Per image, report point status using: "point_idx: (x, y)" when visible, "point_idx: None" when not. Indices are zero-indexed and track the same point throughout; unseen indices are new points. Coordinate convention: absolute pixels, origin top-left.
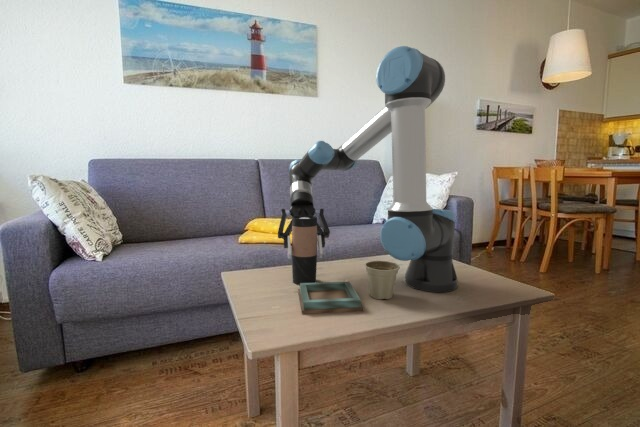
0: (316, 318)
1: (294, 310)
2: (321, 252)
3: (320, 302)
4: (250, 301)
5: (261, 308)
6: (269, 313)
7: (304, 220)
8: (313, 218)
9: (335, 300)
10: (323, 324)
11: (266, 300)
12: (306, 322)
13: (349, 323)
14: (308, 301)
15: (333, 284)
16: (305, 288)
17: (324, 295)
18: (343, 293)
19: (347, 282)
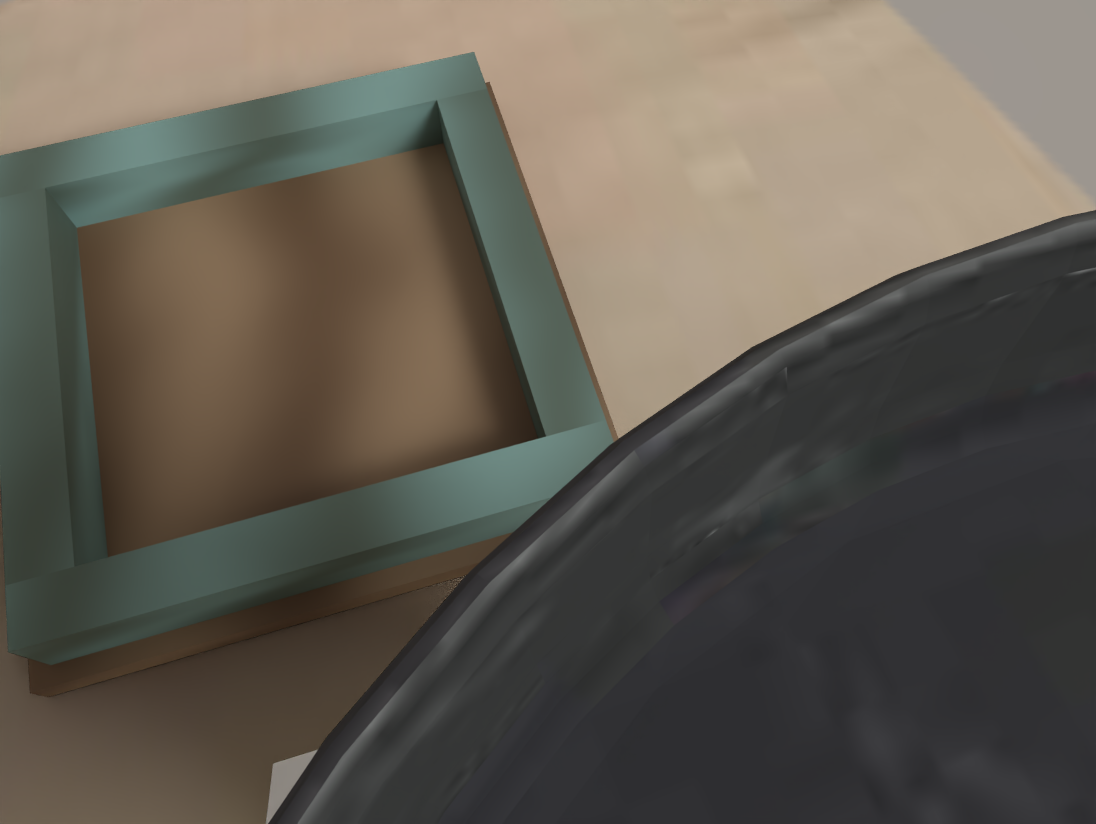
0: (377, 61)
1: (558, 140)
2: (298, 775)
3: (341, 86)
4: (973, 228)
5: (816, 132)
6: (721, 75)
7: (1074, 266)
8: (273, 817)
9: (214, 121)
10: (324, 2)
11: (852, 267)
12: (436, 8)
13: (153, 35)
14: (439, 72)
15: (221, 531)
16: (523, 330)
17: (335, 379)
18: (137, 464)
19: (34, 606)
